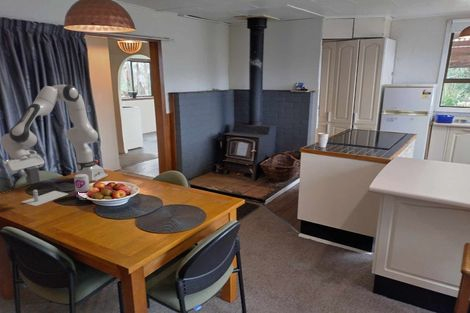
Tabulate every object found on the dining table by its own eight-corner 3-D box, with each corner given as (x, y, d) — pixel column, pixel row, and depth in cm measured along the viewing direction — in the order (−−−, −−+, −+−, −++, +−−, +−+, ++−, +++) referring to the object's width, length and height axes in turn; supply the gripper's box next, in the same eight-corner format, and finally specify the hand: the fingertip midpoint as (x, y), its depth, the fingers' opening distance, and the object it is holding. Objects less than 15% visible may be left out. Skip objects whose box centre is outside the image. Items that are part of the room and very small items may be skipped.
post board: (55, 192, 219) (53, 180, 217) (69, 196, 213) (67, 183, 211) (21, 204, 200) (19, 191, 197) (36, 208, 193) (34, 194, 191)
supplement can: (87, 200, 206) (84, 177, 202) (74, 200, 206) (71, 177, 202) (92, 195, 213) (90, 173, 210) (80, 195, 214) (77, 173, 210)
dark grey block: (34, 180, 201) (32, 166, 199) (39, 181, 198) (37, 167, 196) (26, 182, 196) (24, 168, 194) (31, 183, 194) (29, 169, 192)
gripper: (3, 157, 187) (16, 176, 186) (38, 150, 205) (50, 167, 203) (0, 164, 190) (13, 182, 188) (34, 156, 208) (46, 173, 206)
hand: (32, 174), depth 196 cm, fingers closed on dark grey block, 5 cm apart
